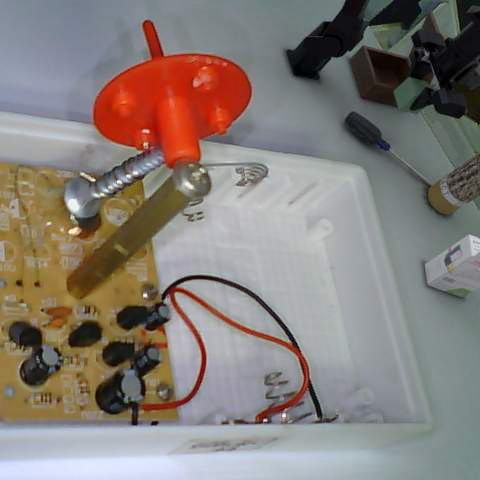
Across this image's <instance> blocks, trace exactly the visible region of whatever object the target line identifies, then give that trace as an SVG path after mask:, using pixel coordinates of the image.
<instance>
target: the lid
mask: <svg viewBox="0 0 480 480" xmlns="http://www.w3.org/2000/svg"><path fill="white" fill-rule="evenodd" d="M422 28H425V29H428V30H431V31H434V32H437V33H440V34H442V33H441V31H440V28H439V25H438V23H437V20H436V18H435V14H434V13H433V11H432V10H429V11H428V12H427V14H426V16H425V19H424V21H423V24H422V25H421V28H420V29H422ZM442 37H443V39H444V40H445V39H446V38H448V37H450V36H449V34H442ZM412 45H413V44H412ZM445 45H446V44H445ZM421 48H422V47H421ZM421 48H416V47H414V45H413V46H412V47H411V49H410V51H409V54H408V57H409V60H410V63H412V59H413V52H414V51H415V50H416V51H419V50H420V49H421ZM434 78H435V76H434V74H433V72H431V73H429V74H428V75H427V76H425V77H424V78H423V79H422V81H426V82H427V83H428V86H429V87H430V85H431V83H432V81H433V80H434Z"/></svg>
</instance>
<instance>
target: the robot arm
mask: <svg viewBox="0 0 480 480" xmlns="http://www.w3.org/2000/svg"><path fill="white" fill-rule="evenodd" d="M370 1H371V0H344V3H343V4H342V7H341V8H340V10H339V11H338V13H337V14H336V15H335V17H334V18H333V19H332V20H323V21H322V22H321V23H320V24H318V25H317V26H316V27H315V28H314V29H313V30H312V31H311V32H310V33H309V34H307V35H306V36H304V38H303V39H302V40H301V41H300V43H299V44H298V45H297V46H296V47H295V48H294V49H287V50H286V56H287V58H288V61H289V65H290V69H291V71H292V74H293V75H294V76H296V77H301V78H306V79H312V80H317V81H318V80H320V79H321V76H320V72H321V71H322V70H323V69H324V68H325V67H326V66H327V64H328V63H329V62H330V61H331V60H332V58H333V59H338V58H342V57H343V56H345V55H346V54H347V53H348V52H349V53H350V52H352V51H353V50H354V49H355V48H356V46H357V45H359V44H360V43H361V42H362V40H364V36H365V35H364V34H365V31H366V30H367V28H368V27H369V26H370V25H371V21H368V20H365V13H366V10H367V8H368V5H369V3H370ZM465 16H466V17H467V18H468V20H470V21H471V22H470V23H469V24H467V25H466V26H465V27H464V28H463V29H462V30H461V31H460V32H458V33H457V34H456V35H455V36H454V37H453V38H452V37H450V36H449V37H448V38H446V39H445V40H444V39H443V37H442V36H443V34H442V33H441V32H440V33H441V34H440V33H437V32H434V31H431V30H428V29H425V28H422V29H421V28H419V29H417V30H415V32H414V33H413V34H412V35H411V36H410V39H411V42H412V45H414V47H416V48H421V47H422V48H421V49H420V50H419V51H416V50H415V51H414V52H413V59H412V63H411V62H410V63H411V66H410V70H409V73H408V76H407V78H408V77H412V78H415V79H419V80H422V79H423V78H424V77H425V76H427V75H428V74H429V73H431V72H433V74H434V79H435V82H436V84H437V86H436V87H434V88H432V87H430V86H429V87H425V88H424V89H423V91H422V92H421V93H420V94H419V96H418V97H417V98H416V100H415V101H414V102H413V104H412V105H411V107H410V110H411V111H416V110H418V109H421V108H424V107H425V108H427V107H429V106H433V109H434V111H435V112H436V113H437V114H439V115H443V116H446V117H450V118H454V119H457V120H460V119H461V118H462V117H463V116H465V115H466V114H467V113H468V111H469V109H468V104H467V101H466V99H465V95H464V93H463V92H461V91H458V90H457V89H456V88H454V86H453V85H452V82H454V83H455V84H457V85H462V84H464V85H465V86H466V87H467V89H468V90H469V91H471V90H473V89H475V88H478V87H479V86H480V62H479V59H480V6H478V5H472V6H470V8H469V9H468V10H467V12H466V13H465ZM445 44H446V45H445ZM425 108H424V109H425Z"/></svg>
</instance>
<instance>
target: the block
mask: <svg viewBox="0 0 480 480" xmlns="http://www.w3.org/2000/svg"><path fill="white" fill-rule="evenodd" d="M425 87H429V88H430V85H429V86H428V83H427V82H426V81H422V80H419V79H415V78H412V77H408V78H407V79H406V80H405V81H404V82H403V83H402V84H401V85H400V86H399V87H397V88H396V89H395V90H394V91H393V92H394V95H395V99H396V102H397V105H398V107H397V108H398V111H401V112H405V113H408V114H413V115H416V116H418V115H419V114H420V113H421V112H422V111H423V110H424V109H426V107H424V108H421V109H418V110H416V111H411V110H410V107H411V105H412V104H413V102H414V101H415V100H416V98H417V97H418V96H419V94H420V93H421V92H422V91H423V89H424V88H425Z"/></svg>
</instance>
